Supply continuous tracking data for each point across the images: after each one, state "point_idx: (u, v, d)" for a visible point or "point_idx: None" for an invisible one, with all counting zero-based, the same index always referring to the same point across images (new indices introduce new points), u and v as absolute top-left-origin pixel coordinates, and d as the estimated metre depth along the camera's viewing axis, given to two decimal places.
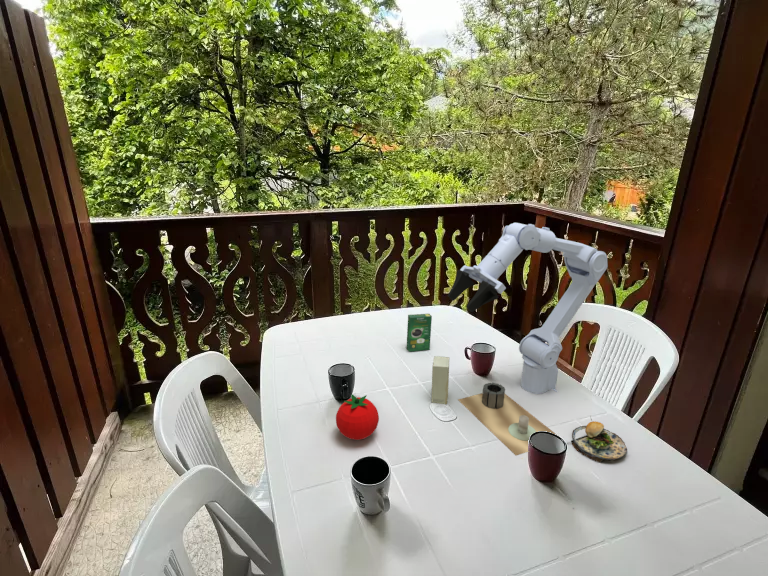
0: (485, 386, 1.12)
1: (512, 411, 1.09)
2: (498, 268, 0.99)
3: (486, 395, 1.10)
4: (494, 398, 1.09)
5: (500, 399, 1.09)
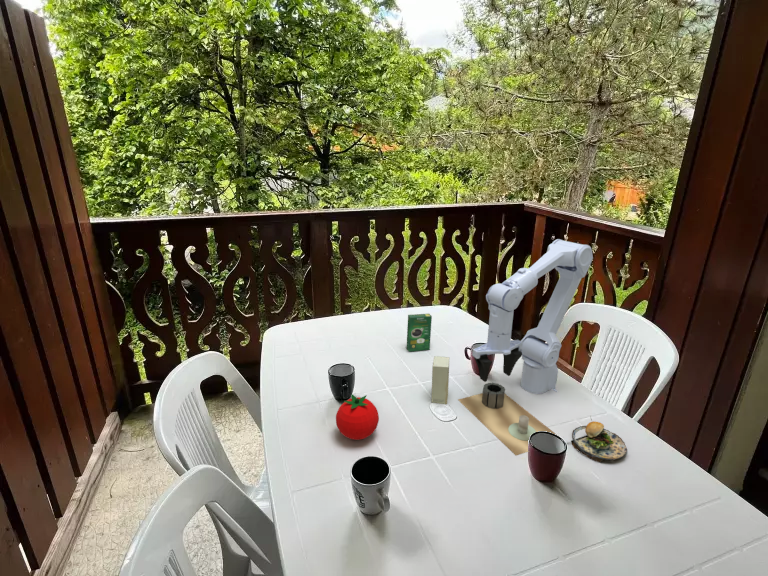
0: (485, 386, 1.12)
1: (512, 411, 1.09)
2: None
3: (486, 395, 1.10)
4: (494, 398, 1.09)
5: (500, 399, 1.09)
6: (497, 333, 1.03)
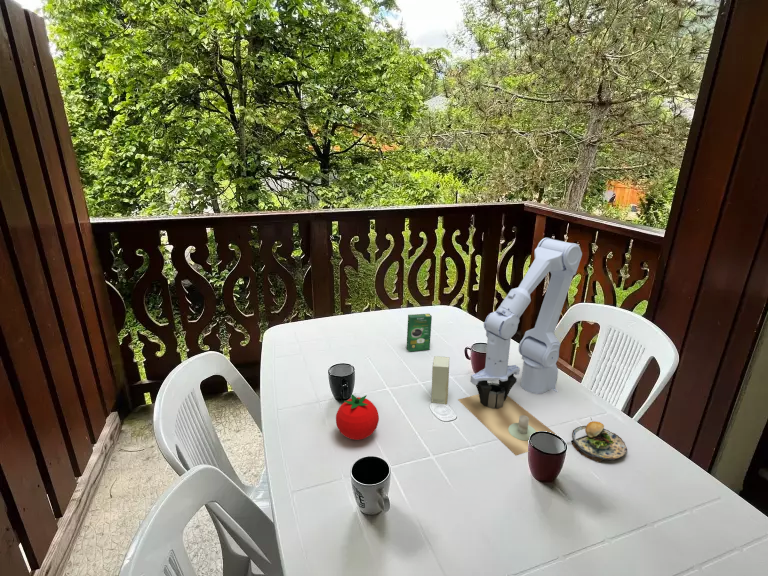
0: None
1: (512, 411, 1.09)
2: None
3: None
4: (494, 398, 1.09)
5: (500, 399, 1.09)
6: (494, 360, 1.06)
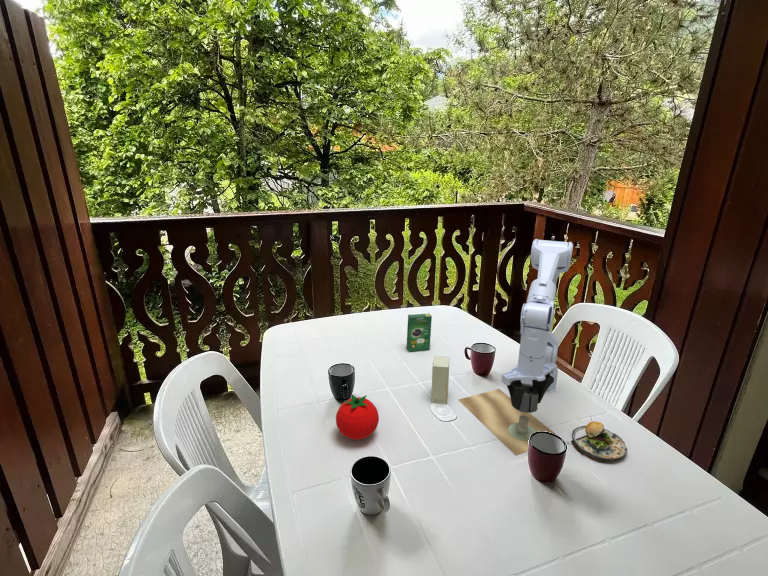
0: None
1: (512, 411, 1.09)
2: None
3: None
4: (527, 400, 0.95)
5: (534, 401, 0.96)
6: (538, 357, 0.91)
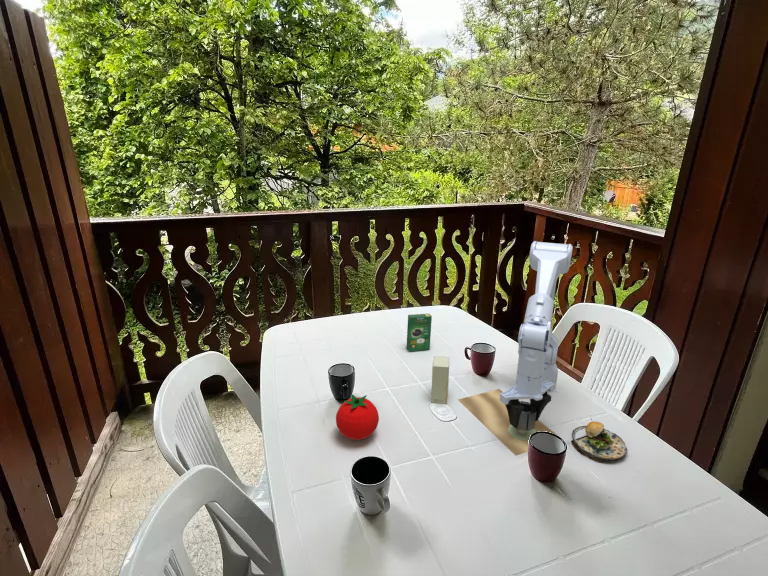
0: None
1: None
2: None
3: None
4: (525, 419, 0.97)
5: (532, 420, 0.97)
6: (535, 377, 0.93)
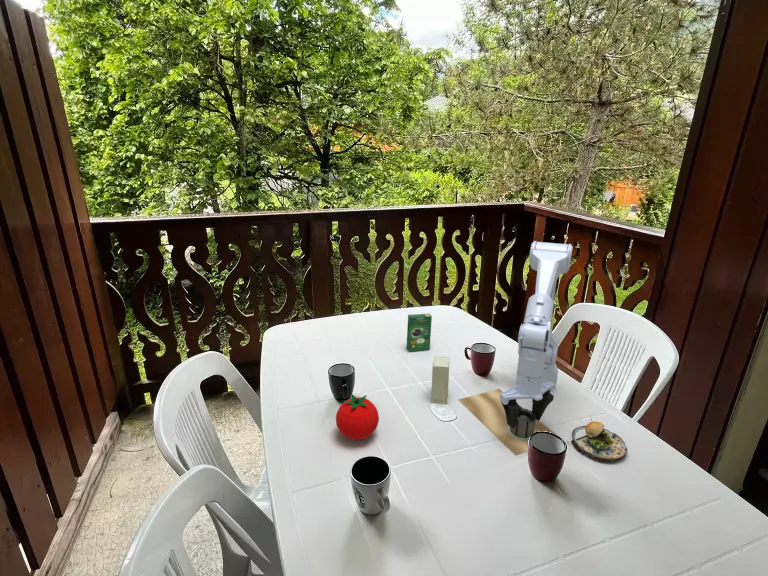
0: None
1: None
2: None
3: None
4: (524, 426, 0.97)
5: (531, 427, 0.98)
6: (535, 377, 0.93)
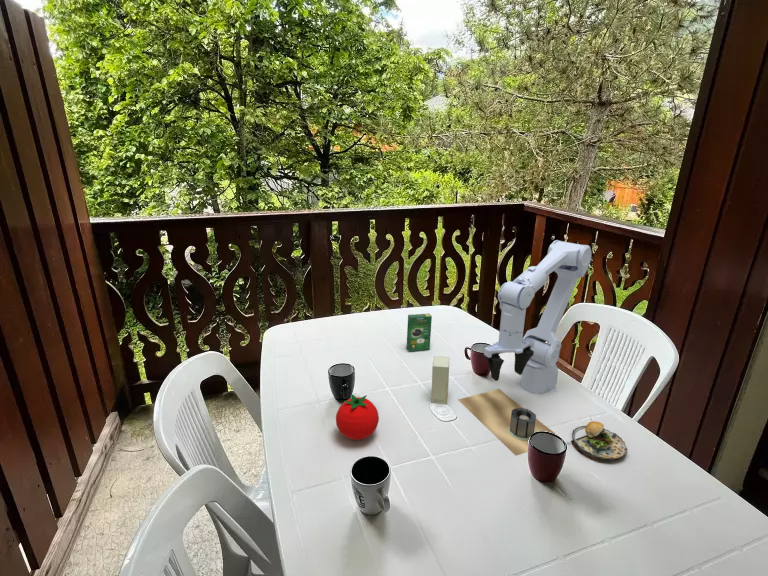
0: (513, 412, 1.00)
1: None
2: None
3: (515, 423, 0.98)
4: (524, 426, 0.97)
5: (531, 427, 0.98)
6: (511, 332, 1.02)
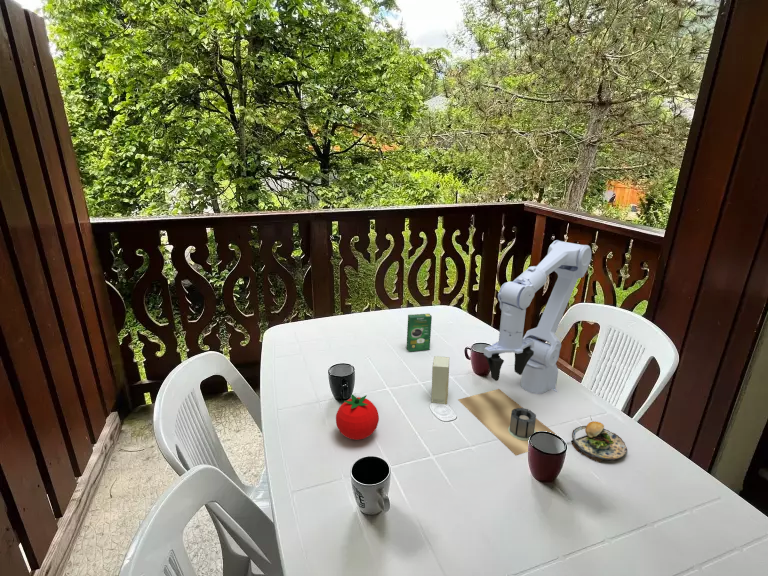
0: (513, 412, 1.00)
1: None
2: None
3: (515, 423, 0.98)
4: (524, 426, 0.97)
5: (531, 427, 0.98)
6: (511, 332, 1.02)
